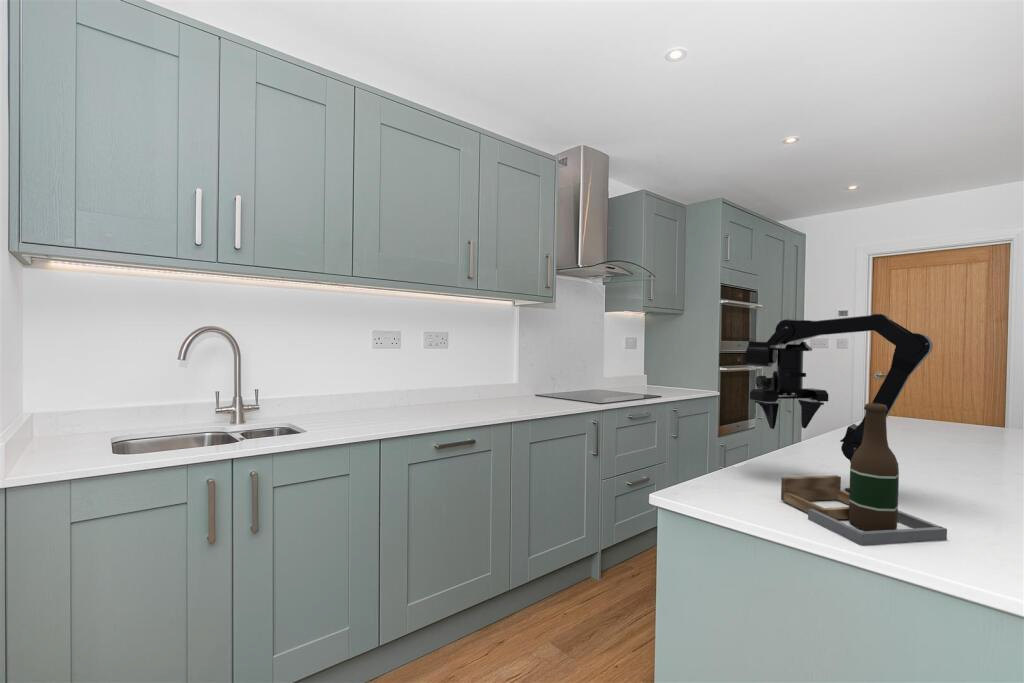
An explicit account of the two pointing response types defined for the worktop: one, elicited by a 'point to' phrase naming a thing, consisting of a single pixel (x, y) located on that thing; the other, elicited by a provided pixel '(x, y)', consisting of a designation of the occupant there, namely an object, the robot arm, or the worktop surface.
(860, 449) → the beer bottle
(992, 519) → the worktop surface
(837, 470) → the worktop surface
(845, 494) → the brown wooden frame
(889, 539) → the tray bay
